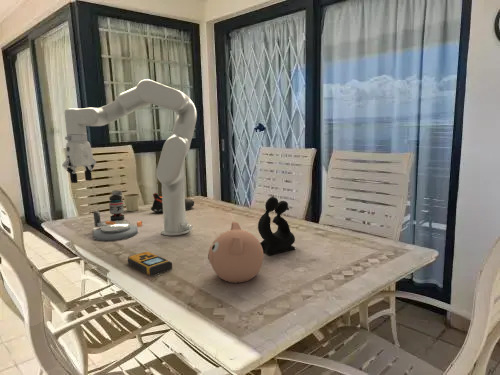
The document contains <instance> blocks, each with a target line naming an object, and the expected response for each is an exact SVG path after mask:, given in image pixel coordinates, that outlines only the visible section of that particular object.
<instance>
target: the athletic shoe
mask: <svg viewBox="0 0 500 375" xmlns="http://www.w3.org/2000/svg"><path fill="white" fill-rule="evenodd" d="M152 197H153V201H152V202H153V203H152V206H151V207H150V210H151V211H152V212H154V213H162V214H163V203H162V194H161V196H160V195H159V194H158V193H157V192H154V193H152ZM194 206H195V201H194V200H193V199H191V198H185V211H187V210H189V209H191V208H193V207H194Z"/></svg>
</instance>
